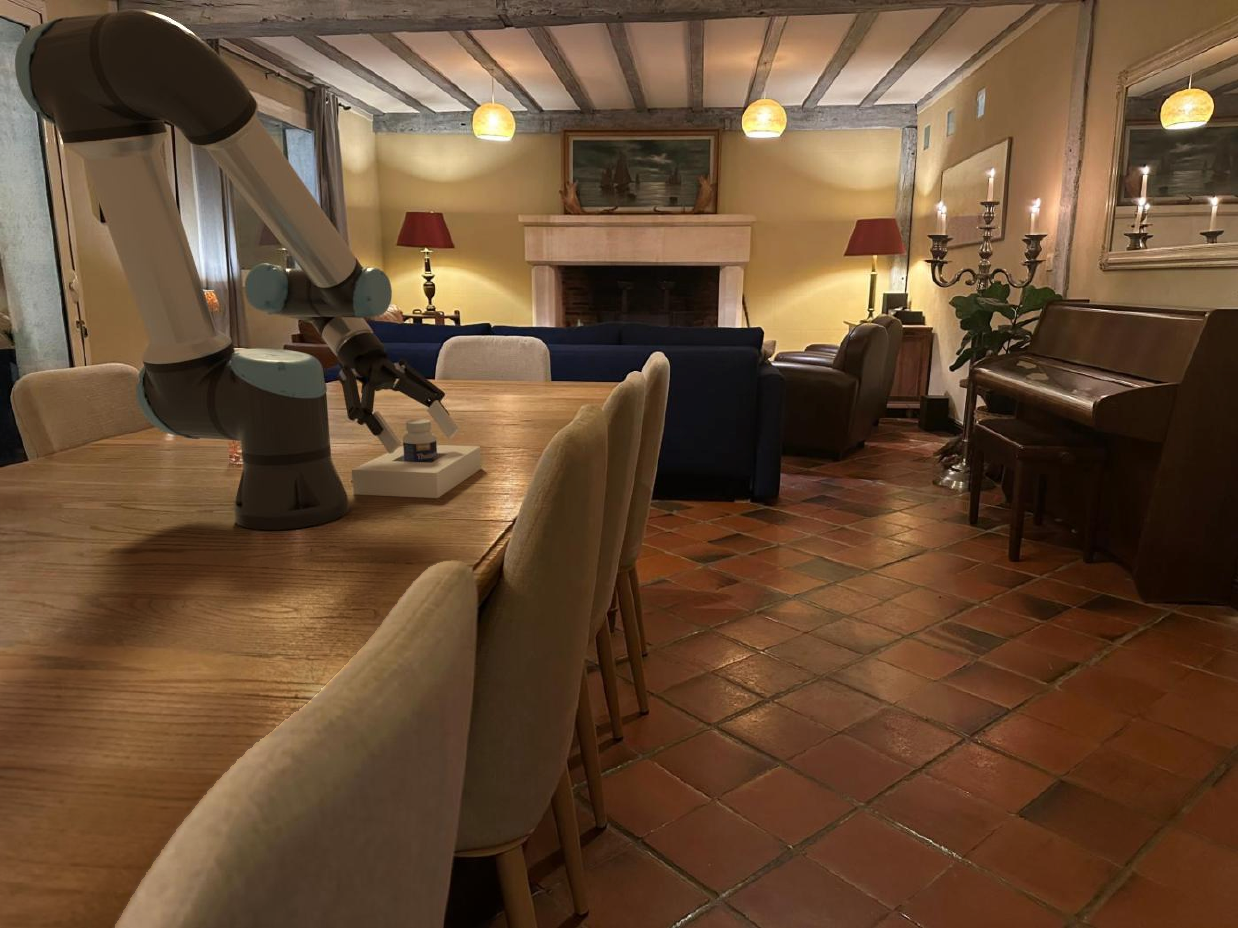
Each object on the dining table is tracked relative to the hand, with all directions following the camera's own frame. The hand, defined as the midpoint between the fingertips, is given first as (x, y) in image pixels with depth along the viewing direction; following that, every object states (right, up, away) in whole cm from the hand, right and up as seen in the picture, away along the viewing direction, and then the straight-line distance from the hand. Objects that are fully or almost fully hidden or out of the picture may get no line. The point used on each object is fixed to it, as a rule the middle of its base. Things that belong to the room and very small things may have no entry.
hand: (425, 441), depth 134 cm
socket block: (-1, -7, +2) cm, 7 cm away
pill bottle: (-1, -6, +2) cm, 7 cm away
